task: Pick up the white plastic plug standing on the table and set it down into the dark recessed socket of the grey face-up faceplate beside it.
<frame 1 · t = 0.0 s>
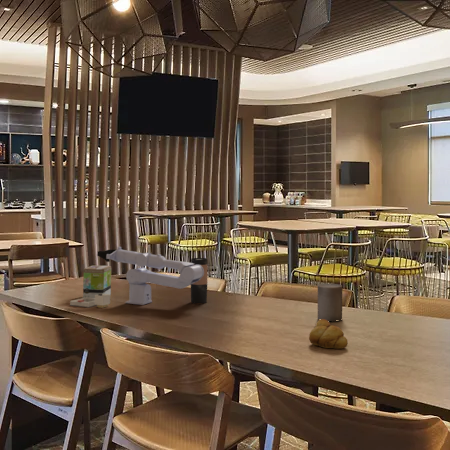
hand: (103, 252, 262), 22 cm above the table, tool horizontal, fingers open, 7 cm apart
tea box: (97, 298, 267), on the table
socket plate: (87, 304, 250), on the table
plug: (102, 306, 245), on the table
travel mug: (198, 302, 258), on the table
bread roll: (328, 347, 182), on the table
pillar candle: (329, 320, 223), on the table
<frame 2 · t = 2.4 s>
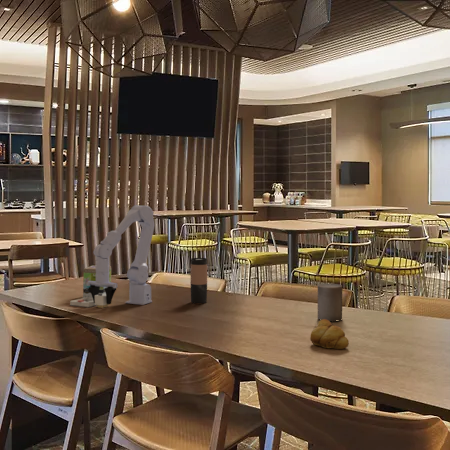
hand: (102, 303, 245), 1 cm above the table, tool pointing down, fingers open, 6 cm apart
nothing on the table moved.
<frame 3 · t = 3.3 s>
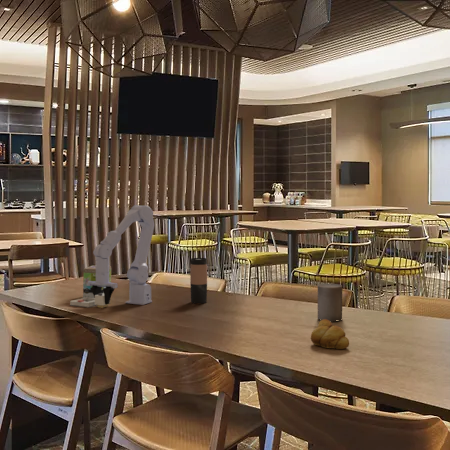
hand: (102, 303, 245), 1 cm above the table, tool pointing down, fingers closed on plug, 4 cm apart
plug: (102, 306, 245), on the table, touching gripper
everything else where it was.
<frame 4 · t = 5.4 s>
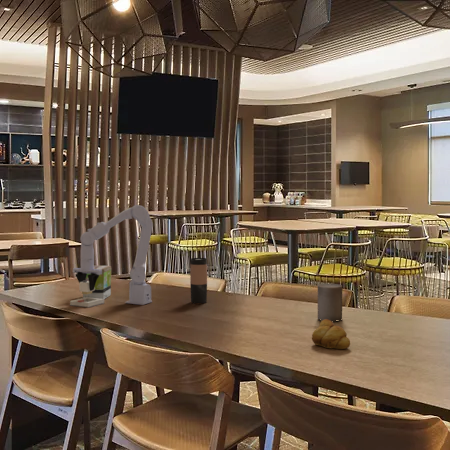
hand: (87, 289, 249), 7 cm above the table, tool pointing down, fingers closed on plug, 4 cm apart
plug: (87, 293, 249), point 5 cm above the table, touching gripper
everything else where it was.
when the fingers open (3 cm above the table, at t = 6.8 s): plug stays where it is, resting on socket plate.
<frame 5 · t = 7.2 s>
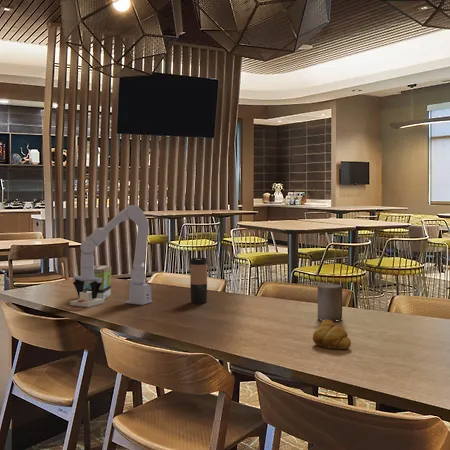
hand: (87, 297, 249), 3 cm above the table, tool pointing down, fingers open, 7 cm apart
plug: (87, 303, 249), resting on socket plate
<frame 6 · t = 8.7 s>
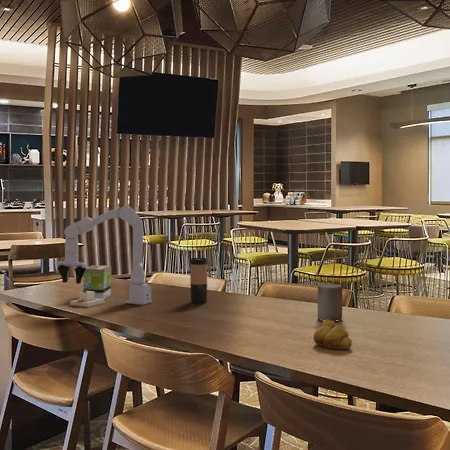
hand: (71, 282, 250), 9 cm above the table, tool pointing down, fingers open, 7 cm apart
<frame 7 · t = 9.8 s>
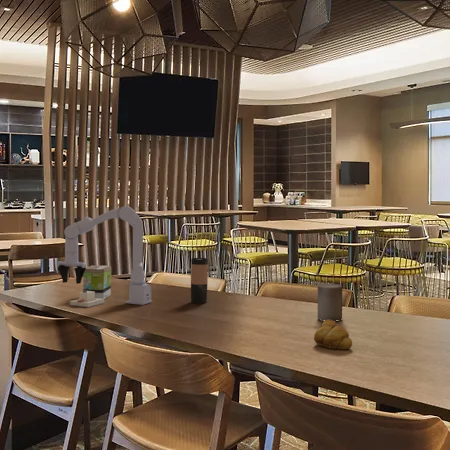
hand: (71, 282, 250), 9 cm above the table, tool pointing down, fingers open, 7 cm apart
at the end: plug 0.2 cm off-centre on the socket plate, point 0.4 cm above the socket plate's base; plug tilted 0°; the gripper is holding nothing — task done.
